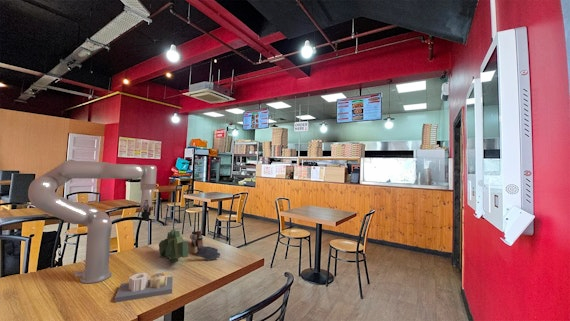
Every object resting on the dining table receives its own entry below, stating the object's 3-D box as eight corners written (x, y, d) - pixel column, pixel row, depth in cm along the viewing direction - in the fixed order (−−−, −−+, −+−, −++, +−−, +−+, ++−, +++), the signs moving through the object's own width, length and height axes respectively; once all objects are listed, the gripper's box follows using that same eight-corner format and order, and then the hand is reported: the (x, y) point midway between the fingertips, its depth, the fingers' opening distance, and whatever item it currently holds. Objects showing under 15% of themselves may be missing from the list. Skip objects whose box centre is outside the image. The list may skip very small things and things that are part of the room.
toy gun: (196, 251, 180) (196, 230, 183) (204, 254, 156) (204, 230, 160) (189, 252, 177) (189, 231, 181) (197, 255, 154) (197, 230, 158)
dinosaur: (197, 257, 136) (195, 223, 142) (176, 262, 129) (174, 226, 134) (177, 260, 161) (175, 231, 166) (158, 264, 153) (157, 233, 158)
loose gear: (127, 292, 106) (128, 281, 106) (130, 285, 113) (130, 274, 113) (146, 289, 109) (147, 278, 110) (148, 282, 116) (148, 272, 116)
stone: (217, 257, 156) (217, 241, 156) (221, 260, 151) (221, 244, 152) (195, 261, 147) (196, 245, 147) (198, 265, 143) (199, 248, 143)
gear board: (114, 302, 102) (115, 284, 102) (120, 287, 114) (121, 271, 114) (172, 293, 111) (172, 276, 111) (172, 280, 123) (173, 265, 123)
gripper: (142, 185, 143) (140, 214, 143) (138, 188, 127) (136, 221, 127) (156, 185, 146) (155, 213, 146) (154, 188, 130) (152, 220, 130)
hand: (146, 217), depth 136 cm, fingers open, 9 cm apart
